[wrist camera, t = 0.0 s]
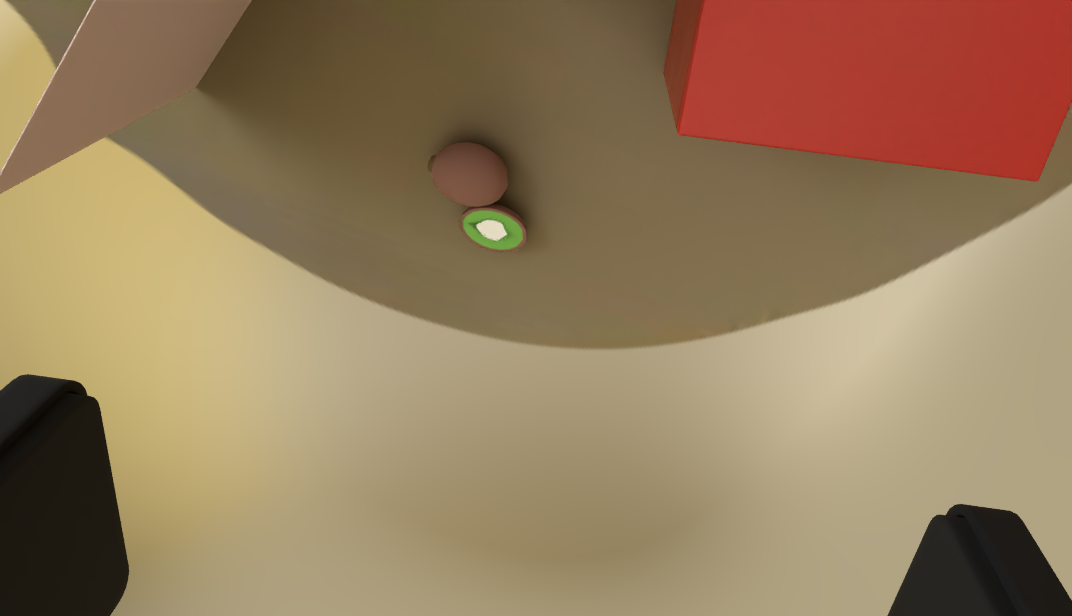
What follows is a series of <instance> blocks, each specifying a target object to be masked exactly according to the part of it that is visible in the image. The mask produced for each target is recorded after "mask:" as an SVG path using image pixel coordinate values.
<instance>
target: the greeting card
mask: <svg viewBox="0 0 1072 616" xmlns="http://www.w3.org/2000/svg"><path fill="white" fill-rule="evenodd" d="M251 1H252V0H94V1H93V3H92V5H91V7H90V9H89V10H88V12H87V14H86V16H85V18H84V20H83V21H82V23H81V25H80V27H79V29H78V31H77V32H76V34H75V36H74V38H73V40H72V42H71V43H70V45H69V47H68V49H67V51H66V53H65V54H64V56H63V58H62V60H61V62H60V64H59V66H58V67H57V69H56V71H55V73H54V75H53V77H52V78H51V80H50V82H49V84H48V86H47V88H46V89H45V91H44V93H43V95H42V97H41V99H40V100H39V102H38V104H37V106H36V108H35V110H34V111H33V113H32V115H31V117H30V119H29V121H28V122H27V124H26V126H25V128H24V130H23V132H22V134H21V135H20V137H19V139H18V141H17V143H16V145H15V146H14V148H13V150H12V152H11V154H10V155H9V157H8V159H7V161H6V163H5V165H4V166H3V169H2V170H1V172H0V194H1V193H2V192H4V191H6V190H8V189H10V188H12V187H13V186H15V185H17V184H19V183H20V182H23V181H24V180H26V179H28V178H30V177H32V176H34V175H36V174H37V173H39V172H41V171H43V170H45V169H47V168H49V167H50V166H52V165H54V164H56V163H58V162H60V161H61V160H63V159H65V158H67V157H69V156H70V155H73V154H74V153H76V152H78V151H80V150H82V149H83V148H85V147H87V146H89V145H91V144H92V143H95V142H96V141H98V140H100V139H102V138H104V137H106V136H108V135H109V134H111V133H113V132H115V131H117V130H119V129H120V128H122V127H124V126H126V125H128V124H130V123H131V122H133V121H135V120H137V119H139V118H141V117H143V116H144V115H146V114H148V113H150V112H152V111H154V110H155V109H157V108H159V107H161V106H163V105H165V104H167V103H168V102H170V101H172V100H174V99H176V98H178V97H179V96H181V95H183V94H185V93H187V92H189V91H190V90H192V89H194V88H196V86H197V85H198V83H199V82H200V80H201V79H202V77H203V75H204V74H205V72H206V71H207V69H208V68H209V66H210V65H211V63H212V61H213V60H214V58H215V57H216V55H217V54H218V52H219V51H220V49H221V47H222V46H223V44H224V43H225V41H226V40H227V38H228V37H229V35H230V33H231V32H232V30H233V29H234V27H235V26H236V24H237V23H238V21H239V19H240V18H241V16H242V15H243V13H244V12H245V10H246V9H247V7H248V6H249V4H250V2H251Z"/></svg>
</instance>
